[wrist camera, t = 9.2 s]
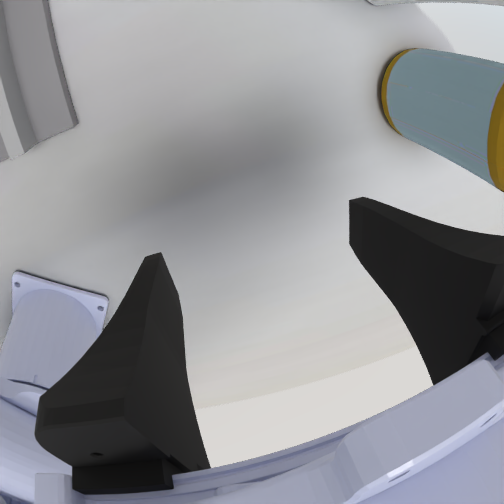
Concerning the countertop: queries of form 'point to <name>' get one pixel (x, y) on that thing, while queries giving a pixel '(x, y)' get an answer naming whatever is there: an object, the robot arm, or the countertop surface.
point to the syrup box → (385, 0)
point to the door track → (30, 78)
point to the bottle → (449, 107)
